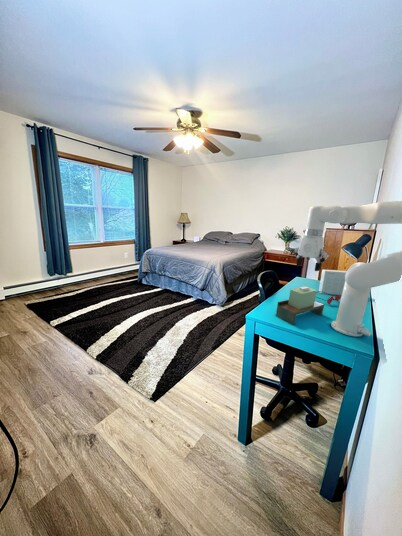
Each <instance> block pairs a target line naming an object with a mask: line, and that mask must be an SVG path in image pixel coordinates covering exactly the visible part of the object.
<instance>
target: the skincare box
mask: <svg viewBox="0 0 402 536" xmlns="http://www.w3.org/2000/svg"><path fill="white" fill-rule="evenodd" d="M346 272H347V270H337V269H322V270H321V274H320V281H319V285H318V292H319V291H322V292H319V293H320V294H322V295H329V294H331V295H334V296H335V295H340V296H342V292H343V288H344V284H345V274H346ZM323 292H325V293H323ZM326 293H328V294H326Z"/></svg>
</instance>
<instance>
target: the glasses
mask: <svg viewBox="0 0 402 536" xmlns="http://www.w3.org/2000/svg"><path fill="white" fill-rule="evenodd" d="M320 292H322V291H319V290H318V291H317V293H316V294H318V293H320ZM323 293H325V292H323ZM325 295H329V297H328V298H327V299H324V298H322V297H321V298H320V297H318V296H316V298H317V299H318V300H319V299H320V300H322V301H325V302H326V303H327V304H328V305H331V303H332V302H333V301H335V302H340V300H341V295H334V294H328V293H326V294H325Z"/></svg>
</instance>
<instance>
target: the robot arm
mask: <svg viewBox="0 0 402 536" xmlns="http://www.w3.org/2000/svg"><path fill="white" fill-rule="evenodd" d="M326 223H327V224H369V225H391V224H392V225H399V224H400V225H402V200H393V201H378V202H372V203H368V204H364V205H350V206H349V205H348V206H341V205H330V206H329V205H328V206H323V205H312V206H310V207H309V208H308V211H307V219H306V225H305V229H303V230H302V231H303V233H304V234H303V235H302V237H301V239H300V242H299V246H298V247H295V248H294V249H293V251H294V255H295V258H296V267H302V264H303V257H305V258H309V259H310V258H311V259H315V261H316V262H315V266H314V271H315V272H320V270H321V268H322V264H323V263H324V262H325V261H327V259H328V258H329V257H330V254H329V253H327V252H326V251H325V250H324V245H325V244H324V243H325V240H324V236H323V235H324V231H325V224H326ZM346 271H347V272H346V274H345V284H344V288H343V292H342V295H340V298H341V299H340V300H339V306H338V309H337V313H336V319H335V320H333V321H331V324H330V326H331V328H332V329H333V330H335V331H336V332H338V333H340V334H343V335H346V336H350V337H355V338H357V337H362V336H366V337H370V336H371V335H372V332H371V329H368V328H366V327H365V324H364V323H363V319H364V315H365V312H366V308H367V304H368V301H369V297H370V293H371V289H373V288H376V287H380V286H385V285H389V284H392V283H397V282H399V280H400V278H401V275H402V250H399V251H395V252H392V253H388V254H384V255H382V256H381V257H380V258H378V259H376V260H374V261H369V262H367V263H366V262H361V261H360V262H359V261H358V262H355V263H353V264H351V265H350V266H349V267H348V268H347V270H346ZM400 281H401V280H400Z"/></svg>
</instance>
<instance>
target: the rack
mask: <svg viewBox="0 0 402 536" xmlns="http://www.w3.org/2000/svg"><path fill="white" fill-rule="evenodd" d="M288 301H289V298H288V299H284V300H280V301H277V306H276V312H275V316H276V317H277V318H279V319H281V320H283V321H285V322H287V323H288V324H290V325H295V323H296V317H297V315H301V314H303V313H307V312H312V313H314V314H317V315H319V316H323V313H324V308H325V304H324V303H321V302H319V301H317V300H315V303H314V305H313V306H309V307H305V308H302V309H298V308H295V307H293V306H291V305H289V304H288Z"/></svg>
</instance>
